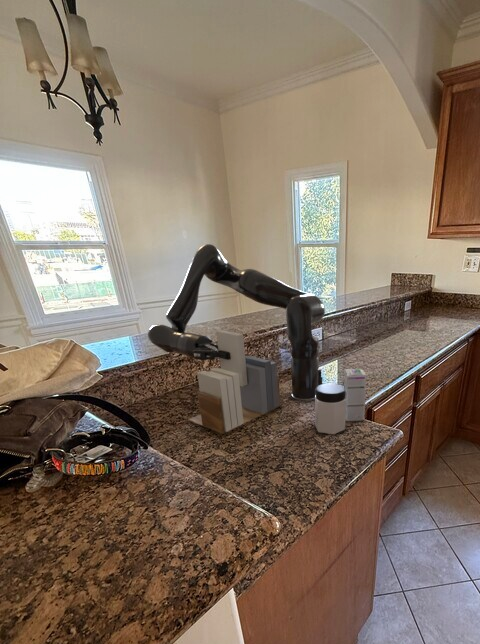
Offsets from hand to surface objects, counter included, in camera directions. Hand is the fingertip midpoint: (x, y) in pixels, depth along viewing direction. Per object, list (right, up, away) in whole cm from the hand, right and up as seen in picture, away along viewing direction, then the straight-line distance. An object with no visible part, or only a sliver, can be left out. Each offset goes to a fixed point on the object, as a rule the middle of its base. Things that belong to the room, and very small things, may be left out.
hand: (232, 355), depth 102 cm
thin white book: (0, -8, +4) cm, 9 cm away
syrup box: (+35, -18, +5) cm, 40 cm away
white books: (-2, -20, -2) cm, 20 cm away
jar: (+28, -21, -2) cm, 35 cm away
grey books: (+6, -15, +9) cm, 18 cm away
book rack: (0, -17, +5) cm, 18 cm away
